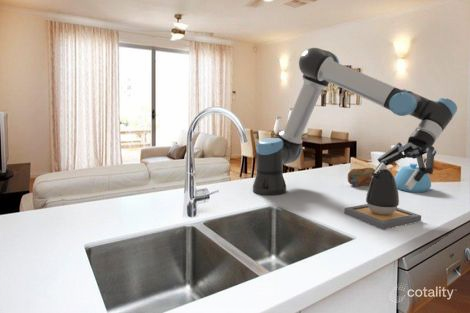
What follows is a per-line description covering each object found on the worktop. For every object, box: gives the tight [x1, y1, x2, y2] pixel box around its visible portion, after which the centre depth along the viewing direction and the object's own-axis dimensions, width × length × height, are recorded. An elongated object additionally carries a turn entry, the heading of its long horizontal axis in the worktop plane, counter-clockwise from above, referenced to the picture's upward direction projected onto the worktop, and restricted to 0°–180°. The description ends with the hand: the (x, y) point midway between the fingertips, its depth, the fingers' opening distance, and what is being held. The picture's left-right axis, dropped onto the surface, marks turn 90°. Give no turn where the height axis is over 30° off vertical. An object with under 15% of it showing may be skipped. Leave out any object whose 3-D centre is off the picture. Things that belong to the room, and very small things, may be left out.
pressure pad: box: [356, 207, 409, 221], centre depth 111 cm, size 13×13×1 cm
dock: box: [343, 203, 422, 230], centre depth 111 cm, size 17×17×2 cm
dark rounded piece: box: [365, 168, 400, 215], centre depth 110 cm, size 10×10×15 cm
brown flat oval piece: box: [347, 167, 376, 187], centre depth 155 cm, size 15×3×8 cm, turn 105°
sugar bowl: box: [394, 163, 432, 193], centre depth 147 cm, size 15×15×12 cm
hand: (390, 182), depth 110 cm, fingers open, 13 cm apart
